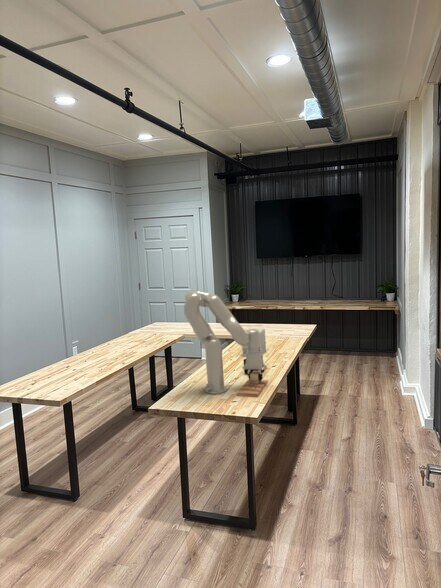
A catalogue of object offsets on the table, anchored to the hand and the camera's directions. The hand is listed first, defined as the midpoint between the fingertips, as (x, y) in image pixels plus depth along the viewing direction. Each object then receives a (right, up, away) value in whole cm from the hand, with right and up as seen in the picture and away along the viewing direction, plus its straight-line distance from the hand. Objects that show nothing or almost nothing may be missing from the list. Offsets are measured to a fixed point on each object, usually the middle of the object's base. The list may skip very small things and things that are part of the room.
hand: (255, 379), depth 250 cm
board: (-2, -4, -6) cm, 8 cm away
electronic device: (0, -1, +21) cm, 21 cm away
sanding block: (0, -2, 0) cm, 2 cm away
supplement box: (+5, +5, +69) cm, 70 cm away
